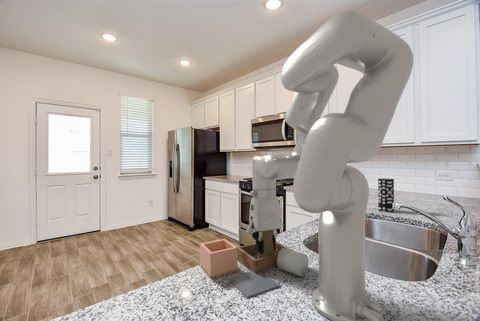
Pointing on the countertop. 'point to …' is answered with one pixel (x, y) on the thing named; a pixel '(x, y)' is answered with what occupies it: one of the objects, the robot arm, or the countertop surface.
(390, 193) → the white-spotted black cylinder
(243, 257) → the walnut open frame
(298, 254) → the white plastic tumbler
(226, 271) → the copper open box
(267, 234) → the pepper shaker
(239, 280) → the slate coaster
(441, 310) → the countertop surface
